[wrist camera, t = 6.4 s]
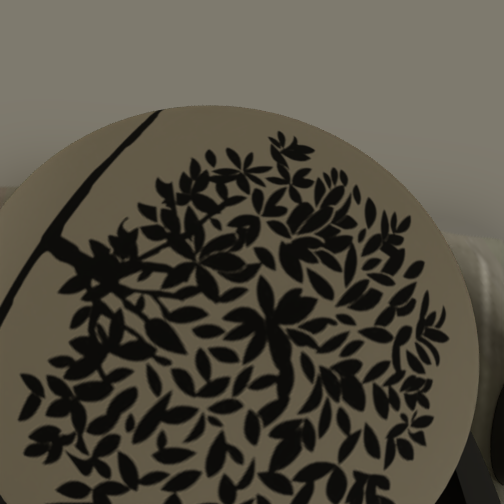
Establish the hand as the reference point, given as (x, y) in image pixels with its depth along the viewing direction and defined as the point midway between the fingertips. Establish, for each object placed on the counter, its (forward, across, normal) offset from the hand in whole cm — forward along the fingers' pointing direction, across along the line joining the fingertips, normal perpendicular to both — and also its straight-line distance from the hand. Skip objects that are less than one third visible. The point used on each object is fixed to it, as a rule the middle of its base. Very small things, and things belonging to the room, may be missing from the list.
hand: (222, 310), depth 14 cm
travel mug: (+3, 0, +8) cm, 9 cm away
